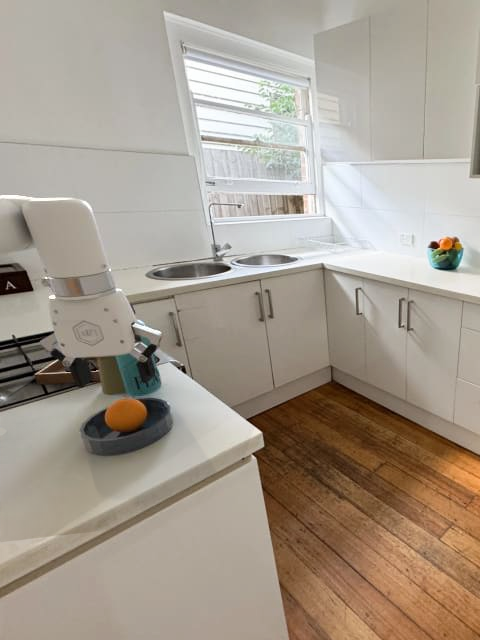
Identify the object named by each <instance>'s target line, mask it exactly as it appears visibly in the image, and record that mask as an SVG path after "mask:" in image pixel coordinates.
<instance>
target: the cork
mask: <svg viewBox="0 0 480 640" xmlns="http://www.w3.org/2000/svg"><path fill="white" fill-rule="evenodd" d="M95 358H97V360H98V367H99V373H100V380H101V381H100V385H101V393H102V392H103V393H102V394H104V395H107V396H113V395H119V394H124V393H127V392H126V389H125V386H124V383H123V381H122V378H121V377H122V376H121V373H120V370H119V366H118V363H117V360H116V357H115V356H103V357H95Z"/></svg>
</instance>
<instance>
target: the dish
mask: <svg viewBox="0 0 480 640" xmlns="http://www.w3.org/2000/svg"><path fill="white" fill-rule="evenodd" d="M135 399H136V400H138V401H140V402H141V403H143V404H144V406H145V407H146V410H147V417H146V420H145V422H144V423H143V424H142V425H141V426H140V427H139V428H137V429H136V430H133V431H131V432H117V431H114V430H112V429H111V428H109V427H108V425H107V424H106V421H105V413H106V411H107V409H108V407H109V406H107V407H104V408H102V409H100V410H99V411H98V410H97V412H95V413H93V414H92V415H90V416H89V417H88V418H87V419H86V420H84V422H83V423H81V426H80V428H79V431H78V432H79V435H80V438H81V439H82V442H83V444H84V447H85V449H86V450H87V452H89V453H91V454H94V455H96V456H107V457H108V456H117V455H118V456H119V455H124V454H127V453H132V452H134V451H135V452H136V451H138V450H141V449H143V448H145V447H147V446H149V445H151V444H154V443H155V442H157V441H159V440H160V439H162V438H163V437H164V436H166V435H167V434H168V433H169V432H170V431H171V429H172V428H173V426H174V422H175V421H174V415H173V411H172V406H171V405H170V403H169V402H168V401H167V400H165V399H162V398H157V397H139V398H135Z"/></svg>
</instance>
